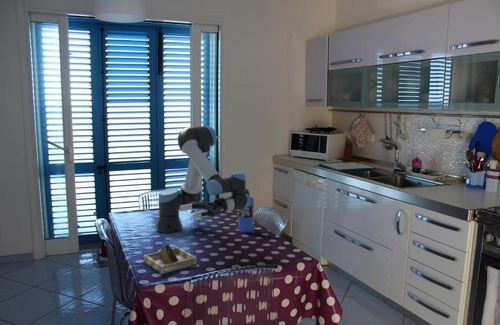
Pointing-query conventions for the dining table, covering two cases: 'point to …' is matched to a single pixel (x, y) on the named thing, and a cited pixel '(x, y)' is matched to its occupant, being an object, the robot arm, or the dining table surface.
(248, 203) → the robot arm
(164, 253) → the rock
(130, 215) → the dining table surface
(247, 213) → the blue plastic bottle
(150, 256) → the box
